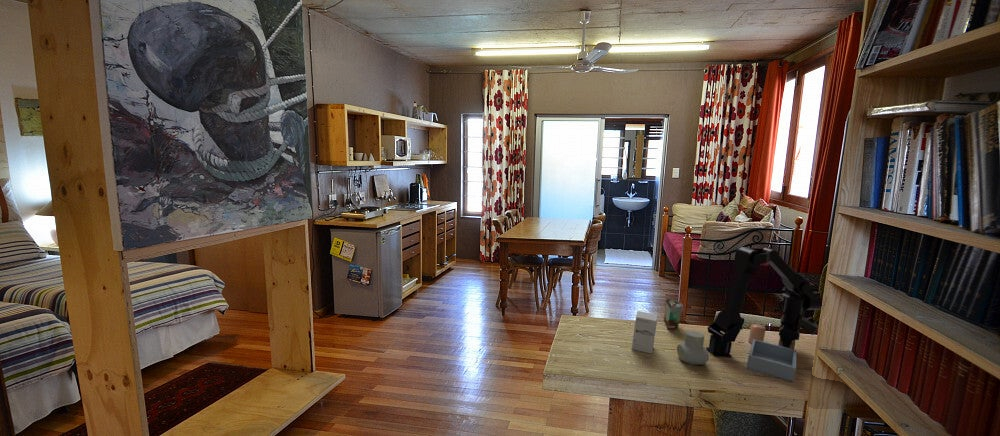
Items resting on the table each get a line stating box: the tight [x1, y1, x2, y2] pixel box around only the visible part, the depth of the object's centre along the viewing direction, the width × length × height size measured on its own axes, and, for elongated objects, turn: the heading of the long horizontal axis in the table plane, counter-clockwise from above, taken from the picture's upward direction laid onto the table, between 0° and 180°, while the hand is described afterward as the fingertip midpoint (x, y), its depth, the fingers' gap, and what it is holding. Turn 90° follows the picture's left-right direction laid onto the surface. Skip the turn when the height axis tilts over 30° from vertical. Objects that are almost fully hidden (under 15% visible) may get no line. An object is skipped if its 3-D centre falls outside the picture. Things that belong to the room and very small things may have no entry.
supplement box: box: [631, 310, 659, 354], centre depth 164 cm, size 7×7×13 cm
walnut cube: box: [777, 337, 796, 350], centre depth 171 cm, size 5×5×5 cm
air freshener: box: [676, 330, 710, 366], centre depth 156 cm, size 11×8×10 cm
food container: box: [663, 297, 685, 331], centre depth 188 cm, size 12×6×10 cm, turn 168°
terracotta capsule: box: [747, 323, 766, 345], centre depth 176 cm, size 5×5×7 cm
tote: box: [746, 339, 797, 383], centre depth 157 cm, size 18×14×5 cm
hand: (785, 348), depth 171 cm, fingers closed on walnut cube, 5 cm apart
